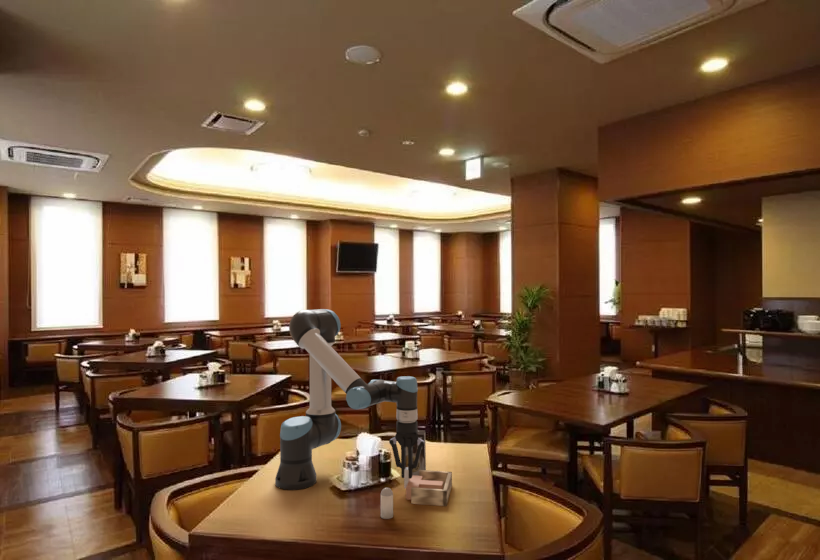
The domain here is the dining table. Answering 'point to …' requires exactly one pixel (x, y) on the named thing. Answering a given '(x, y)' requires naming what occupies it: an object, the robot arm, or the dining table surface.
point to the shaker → (386, 503)
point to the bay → (433, 495)
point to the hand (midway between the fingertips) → (407, 486)
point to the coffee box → (422, 457)
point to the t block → (421, 484)
